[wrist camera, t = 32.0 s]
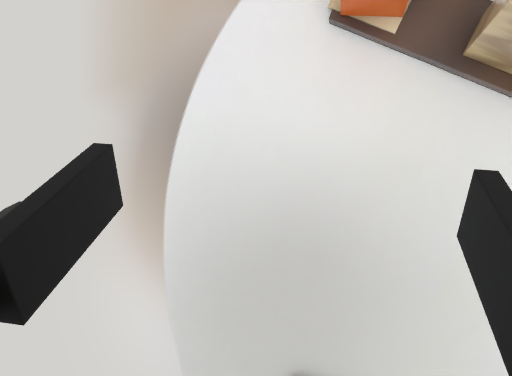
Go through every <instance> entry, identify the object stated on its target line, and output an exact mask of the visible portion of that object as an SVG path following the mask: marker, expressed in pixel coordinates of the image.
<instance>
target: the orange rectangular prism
mask: <svg viewBox="0 0 512 376" xmlns="http://www.w3.org/2000/svg"><path fill="white" fill-rule="evenodd" d="M408 1H409V0H341V15H354V16H386V17H403V15H404V13H405V10H406V7H407V4H408Z"/></svg>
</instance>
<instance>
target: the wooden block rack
mask: <svg viewBox="0 0 512 376" xmlns="http://www.w3.org/2000/svg"><path fill="white" fill-rule="evenodd" d="M328 8H330V9H333V11H332V13H331V15H330V17H329V23H331V24H333V25H336V26H338V27H340V28H343V29H345V30H348V31H350V32H353V33H355V34H358V35H360V36H363V37H365V38H367V39H370V40H372V41H375V42H377V43H380V44H382V45H385V46H387V47H390V48H392V49H394V50H397V51H399V52H402V53H404V54H407V55H409V56H412V57H414V58H417V59H419V60H421V61H424V62H426V63H429V64H431V65H434V66H436V67H439V68H441V69H444V70H446V71H448V72H451V73H453V74H456V75H458V76H461V77H463V78H466V79H468V80H471V81H473V82H475V83H478V84H480V85H483V86H485V87H488V88H490V89H493V90H495V91H498V92H500V93H502V94H505V95H507V96H510V97H512V0H494V1H491V0H409V1H408V4H407V7H406V10H405V13H404V15H403V17H386V16H354V15H341V0H330V2H329V5H328Z"/></svg>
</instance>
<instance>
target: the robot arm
mask: <svg viewBox="0 0 512 376" xmlns="http://www.w3.org/2000/svg"><path fill="white" fill-rule="evenodd" d="M122 206H123V202H122V196H121V191H120V185H119V180H118V174H117V169H116V163H115V157H114V152H113V146H112V144H98V143H93V144H92V145H91V146H90V147H89V148H87V149H86V150H85V151H84V152H82V153H81V154H80V155H79V156H77V157H76V158H75V159H74V160H72V161H71V162H70V163H69V164H68V165H66V166H65V167H64V168H63V169H62V170H60V171H59V172H58V173H56V174H55V175H54V176H53V177H52V178H50V179H49V180H48V181H47V182H46V183H44V184H43V185H42V186H41V187H39V188H38V189H37V190H36V191H35V192H33V193H32V194H31V195H30V196H28V197H27V198H26V199H25V200H24V201H22V202H18V203H15V204H13V205H11V206H9V207H7V208H5V209H3V210H2V211H1V212H0V322H3V323H10V324H17V325H24V324H25V323H26V322H27V321H28V320H29V318H30V317H31V316H32V315H33V314H34V312H35V311H36V310H37V309H38V307H39V306H40V305H41V304H42V303H43V301H44V300H45V299H46V298H47V296H48V295H49V294H50V293H51V292H52V291H53V289H54V288H55V287H56V286H57V285H58V283H59V282H60V281H61V280H62V279H63V277H64V276H65V275H66V274H67V273H68V271H69V270H70V269H71V268H72V267H73V265H74V264H75V263H76V261H78V259H79V258H80V257H81V256H82V254H83V253H84V252H85V251H86V250H87V248H88V247H89V246H90V245H91V244H92V242H93V241H94V240H95V239H96V238H97V236H98V235H99V234H100V233H101V231H102V230H103V229H104V228H105V227H106V226H107V224H108V223H109V222H110V221H111V220H112V218H113V217H114V216H115V215H116V214H117V212H118V211H119V210H120V209H121V208H122ZM457 238H458V241H459V243H460V246H461V249H462V251H463V254H464V257H465V259H466V262H467V265H468V267H469V270H470V273H471V275H472V278H473V281H474V283H475V286H476V289H477V291H478V294H479V297H480V299H481V302H482V305H483V308H484V310H485V313H486V316H487V318H488V321H489V324H490V326H491V329H492V332H493V334H494V337H495V340H496V342H497V345H498V348H499V350H500V353H501V356H502V358H503V361H504V364H505V366H506V369H507V372H508V374H509V376H512V191H511V189H510V188H509V186H508V185H507V183H506V182H505V180H504V179H503V177H502V176H501V174H500V173H499V171H491V170H476V169H474V172H473V176H472V180H471V184H470V188H469V191H468V195H467V199H466V203H465V207H464V210H463V214H462V218H461V222H460V226H459V229H458V233H457Z"/></svg>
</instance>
